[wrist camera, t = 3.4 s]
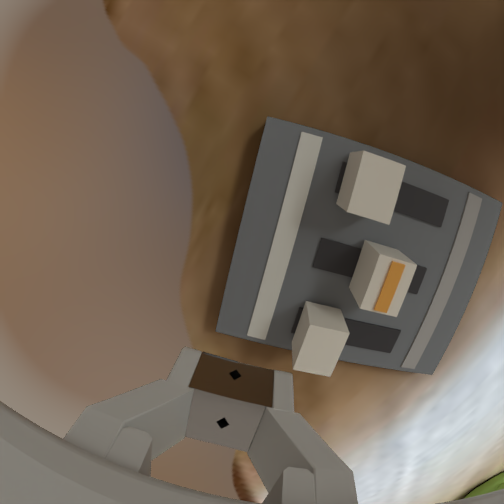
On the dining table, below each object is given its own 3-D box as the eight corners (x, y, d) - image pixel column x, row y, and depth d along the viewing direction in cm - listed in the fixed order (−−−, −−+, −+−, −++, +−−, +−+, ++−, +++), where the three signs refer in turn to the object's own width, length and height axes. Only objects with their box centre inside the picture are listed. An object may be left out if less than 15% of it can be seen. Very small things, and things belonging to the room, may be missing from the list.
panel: (490, 199, 24) (503, 203, 22) (425, 364, 29) (432, 375, 27) (268, 120, 24) (267, 116, 22) (219, 320, 29) (215, 332, 27)
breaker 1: (340, 309, 25) (349, 333, 21) (324, 349, 26) (330, 376, 23) (305, 300, 25) (309, 324, 21) (291, 342, 26) (292, 369, 23)
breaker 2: (386, 164, 22) (405, 165, 18) (372, 215, 23) (389, 224, 19) (349, 152, 22) (363, 150, 18) (336, 204, 23) (346, 211, 19)
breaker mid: (398, 249, 24) (418, 265, 20) (381, 295, 25) (397, 318, 21) (364, 239, 24) (380, 254, 20) (348, 287, 25) (360, 309, 21)
